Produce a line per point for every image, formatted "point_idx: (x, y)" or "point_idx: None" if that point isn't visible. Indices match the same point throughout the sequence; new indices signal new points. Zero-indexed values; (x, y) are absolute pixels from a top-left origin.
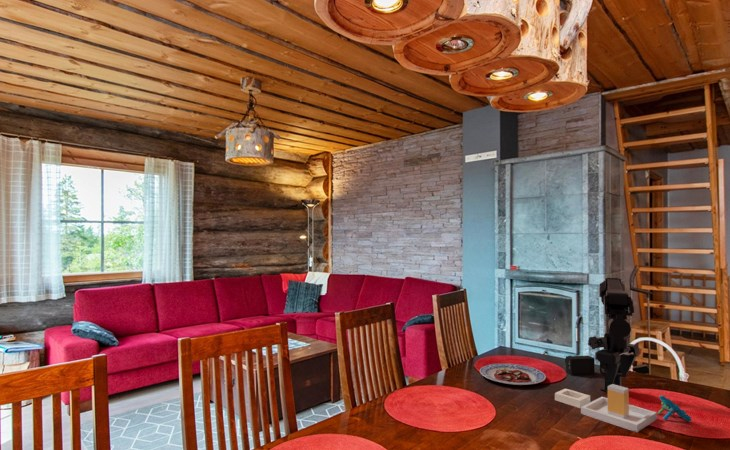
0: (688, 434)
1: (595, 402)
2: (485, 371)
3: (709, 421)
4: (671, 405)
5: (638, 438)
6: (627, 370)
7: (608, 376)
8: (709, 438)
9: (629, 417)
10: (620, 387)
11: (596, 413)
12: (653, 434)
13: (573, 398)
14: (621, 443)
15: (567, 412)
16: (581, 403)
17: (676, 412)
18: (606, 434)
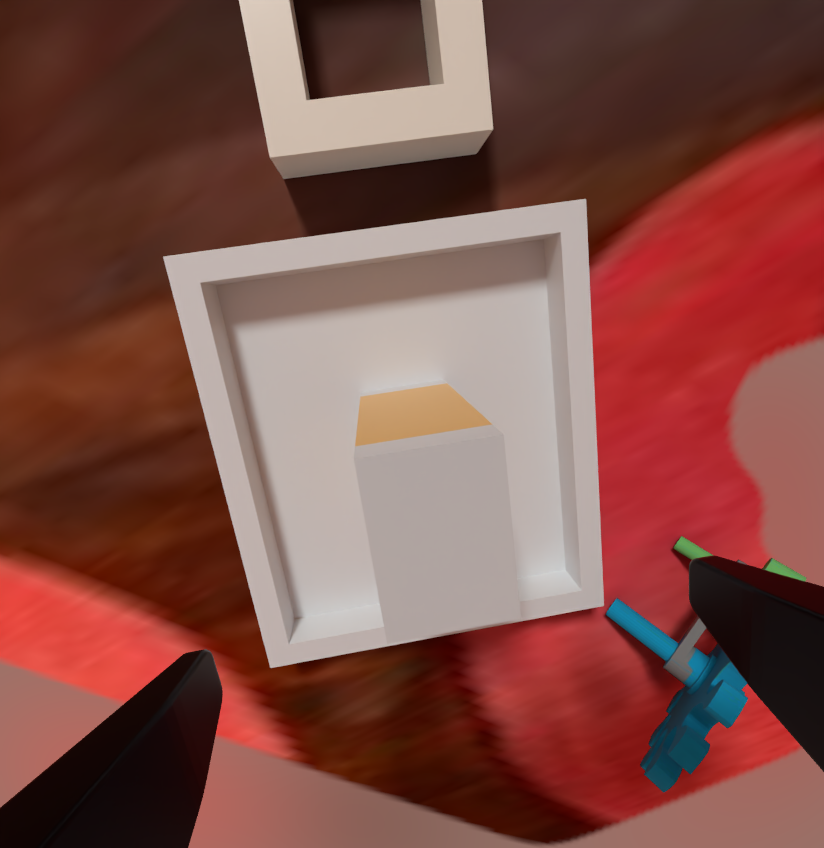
0: (514, 750)
1: (397, 255)
2: None
3: None
4: (685, 714)
5: None
6: (785, 722)
7: (111, 728)
8: (553, 806)
9: None
10: (461, 563)
11: (203, 398)
12: (344, 682)
13: (264, 74)
14: (48, 676)
15: (99, 179)
16: (309, 164)
17: (717, 646)
18: (63, 570)
